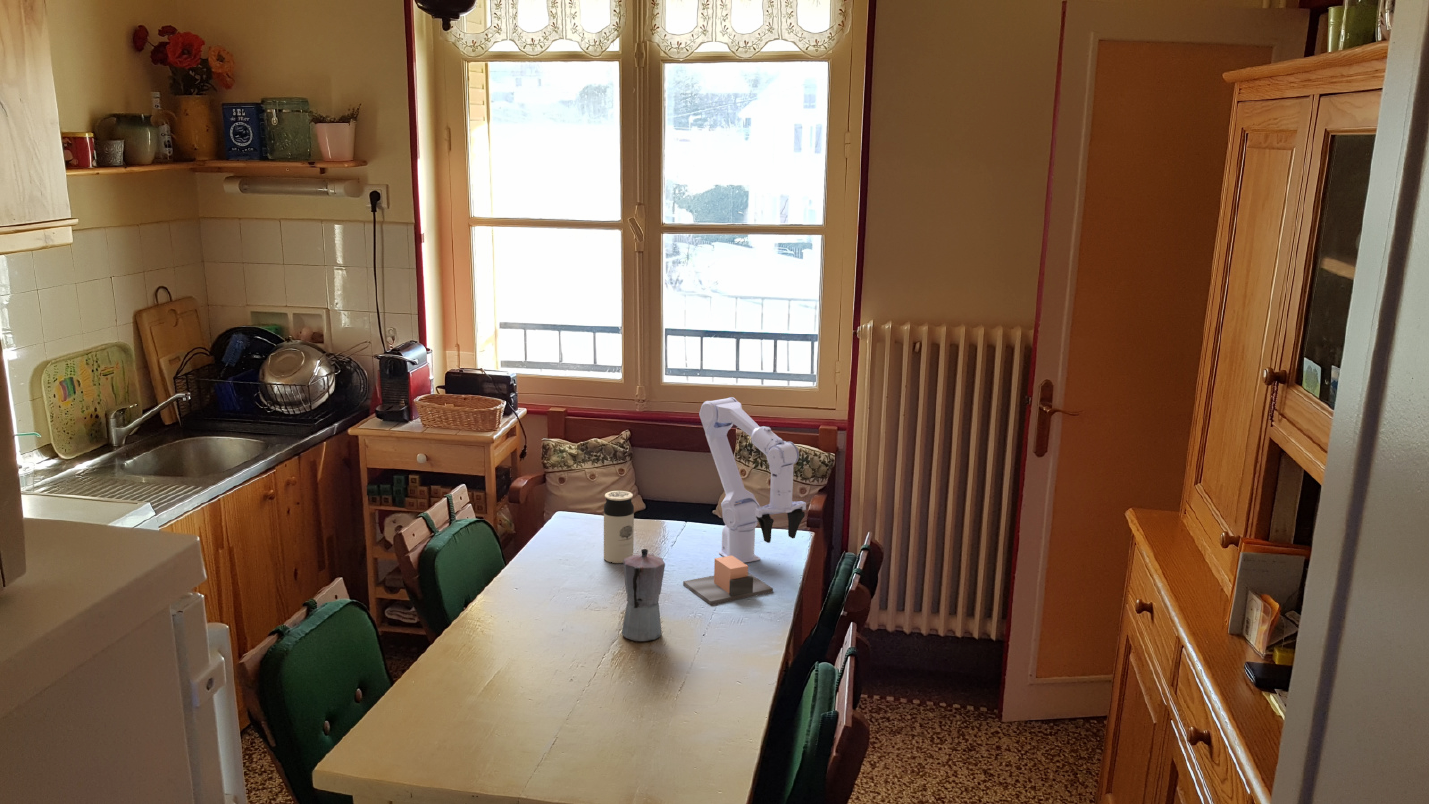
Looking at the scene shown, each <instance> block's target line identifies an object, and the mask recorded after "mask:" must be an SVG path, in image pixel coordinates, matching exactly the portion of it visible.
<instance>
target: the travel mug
mask: <svg viewBox="0 0 1429 804" xmlns="http://www.w3.org/2000/svg"><path fill="white" fill-rule="evenodd" d="M633 497H634V495H633V492H630V491H627V490H612V491H608V492H606V493H605V494H604V498H605V501H606V502H605V504H604V506H603V559H604V561H607V562H608V563H611V562H612V564H623V560H624V559H625V558H627V557H630V556H632V555H634V546H635V545H634V542H635V541H634V535H635V533H634V532H635V529H634V528H635V527H634V526H635V525H634V520H635V517H634V516H635V515H634V514H635V506H634V504H633V502H632V499H633Z"/></svg>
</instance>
